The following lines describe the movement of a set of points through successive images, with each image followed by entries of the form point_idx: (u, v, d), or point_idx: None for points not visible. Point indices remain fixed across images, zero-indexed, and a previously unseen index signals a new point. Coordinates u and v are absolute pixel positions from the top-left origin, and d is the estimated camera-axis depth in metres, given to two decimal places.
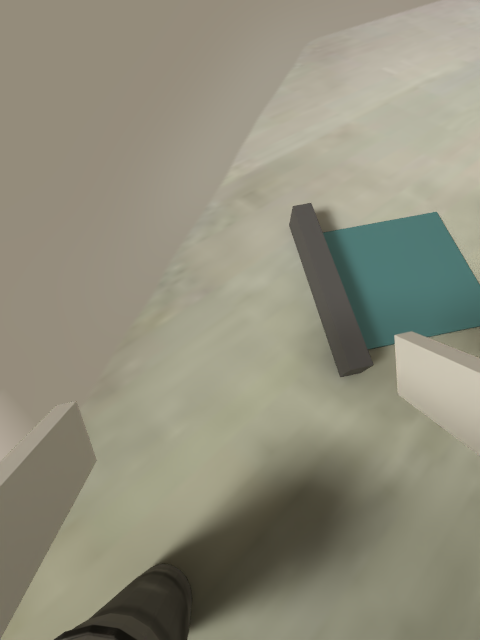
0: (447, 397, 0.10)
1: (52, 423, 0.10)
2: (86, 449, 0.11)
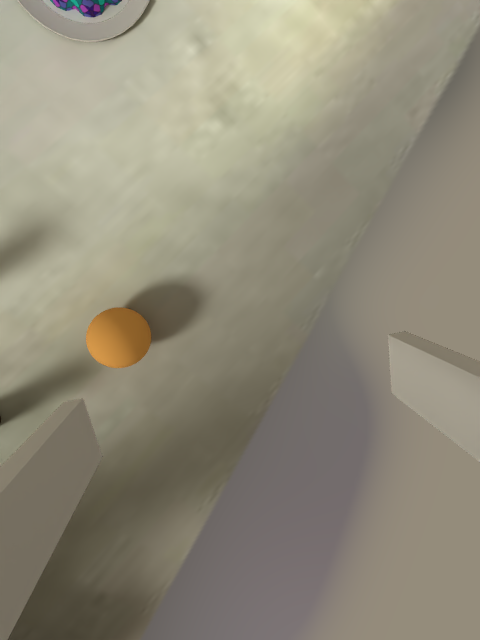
0: (438, 396, 0.10)
1: (60, 419, 0.10)
2: (93, 446, 0.12)
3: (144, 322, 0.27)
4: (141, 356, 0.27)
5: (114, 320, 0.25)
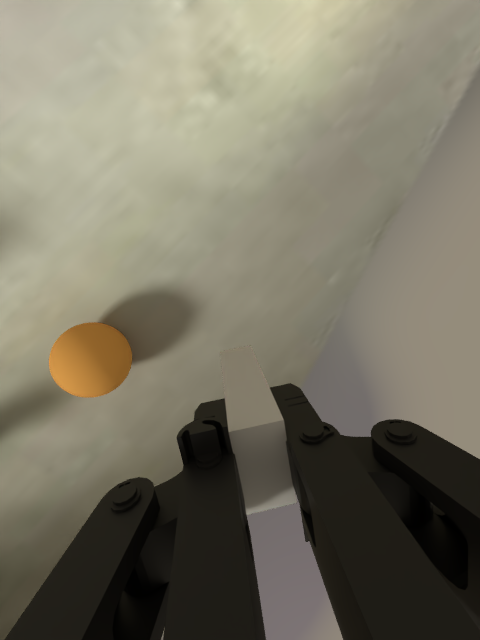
0: None
1: (234, 359, 0.13)
2: None
3: (122, 341, 0.22)
4: (119, 382, 0.22)
5: (83, 339, 0.20)
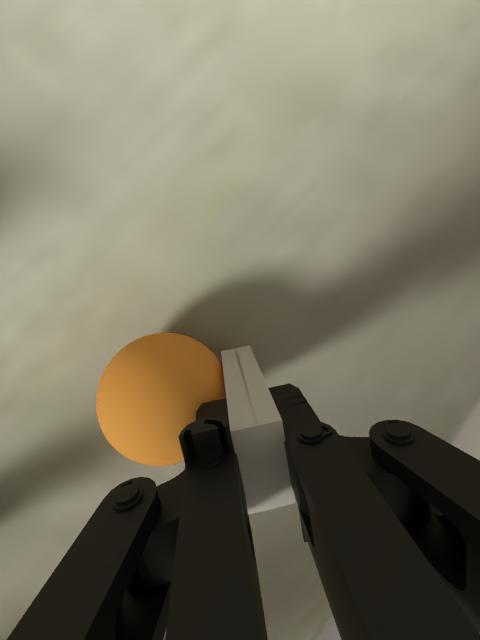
0: None
1: (235, 359, 0.13)
2: None
3: (217, 368, 0.12)
4: None
5: (154, 369, 0.11)
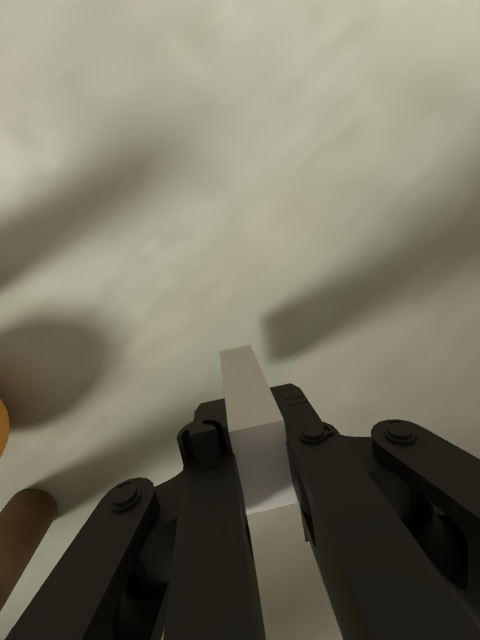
0: None
1: (234, 359, 0.13)
2: None
3: None
4: None
5: None
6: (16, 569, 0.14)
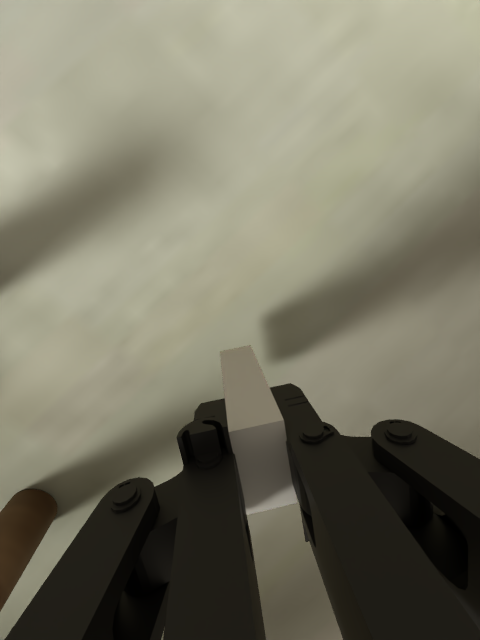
0: None
1: (234, 359, 0.13)
2: None
3: None
4: None
5: None
6: (16, 569, 0.14)
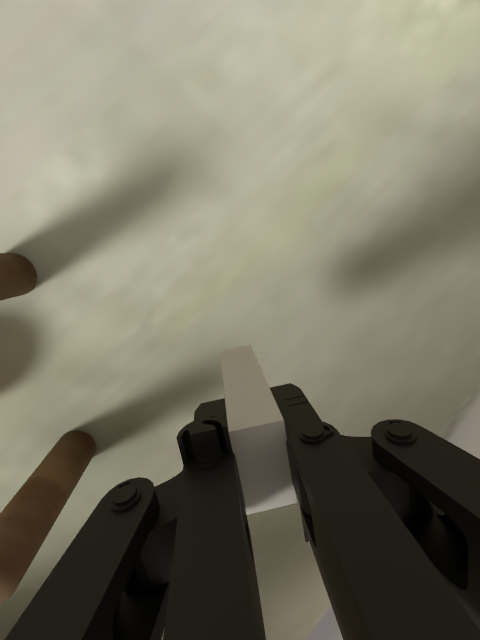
0: None
1: (234, 359, 0.13)
2: None
3: None
4: None
5: None
6: (72, 481, 0.18)
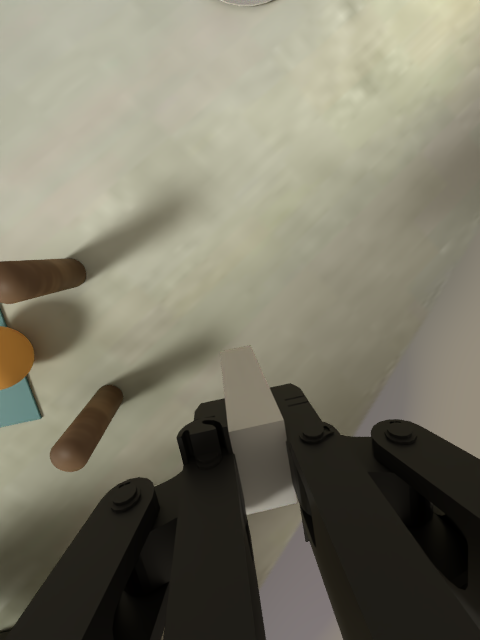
0: None
1: (234, 359, 0.13)
2: None
3: None
4: None
5: None
6: (111, 413, 0.27)
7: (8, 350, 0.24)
